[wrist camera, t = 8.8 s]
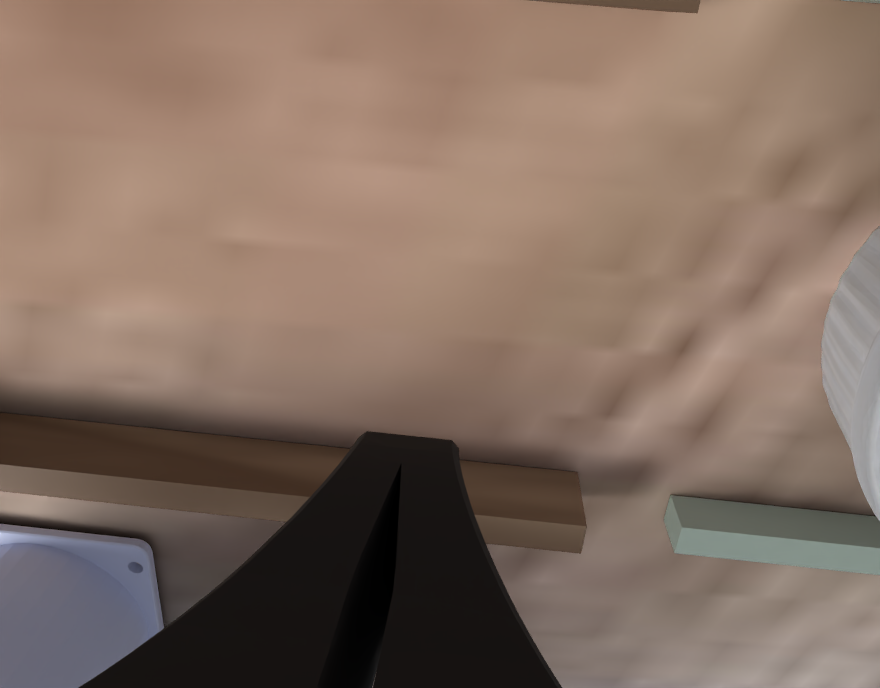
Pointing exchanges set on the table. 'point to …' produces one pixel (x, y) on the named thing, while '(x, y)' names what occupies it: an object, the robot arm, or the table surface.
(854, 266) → the ramekin
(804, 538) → the sage bay
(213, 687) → the robot arm
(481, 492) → the brown wooden flat frame
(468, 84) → the table surface
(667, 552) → the table surface
